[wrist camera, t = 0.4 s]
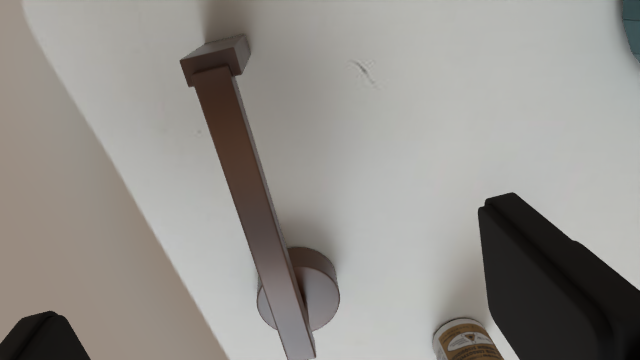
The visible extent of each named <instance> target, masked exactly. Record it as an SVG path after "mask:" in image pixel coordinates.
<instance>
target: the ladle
mask: <svg viewBox="0 0 640 360" xmlns="http://www.w3.org/2000/svg"><path fill="white" fill-rule="evenodd" d="M250 55H251V53H250V50H249V46H248V43H247V39H246V36H245V34H242V35H238V36H234V37H230V38H226V39H222V40H218V41H214V42H210V43H206V44H204V45H202V46H201V47H199V48H198V49H196V50H195V51H193V52H192V53H190V54H189V55H187V56H186V57H184V58H182V59H181V60H180V64H181V67H182V70H183V73H184V75H185V78H186V81H187V84H188V87H195V90H196V93H197V96H198V98H199V101H200V104H201V107H202V110H203V113H204V116H205V119H206V122H207V125H208V128H209V131H210V134H211V137H212V140H213V142H214V145H215V148H216V151H217V154H218V157H219V160H220V163H221V166H222V169H223V172H224V175H225V178H226V181H227V184H228V186H229V189H230V192H231V195H232V198H233V201H234V204H235V207H236V210H237V213H238V216H239V219H240V222H241V225H242V228H243V230H244V233H245V236H246V239H247V242H248V245H249V248H250V251H251V254H252V257H253V260H254V263H255V266H256V269H257V272H258V274H259V277H258V288H257V308H258V311H259V313H260V315H261V317H262V319H263V320H264V321H265V322H266V323H267V324H268V325H269V326H271V327H272V328H274V329H276V330H278V333H279V336H280V339H281V342H282V345H283V348H284V351H285V354H286V357H287V360H309V359H313V358H316V349H315V340H314V337H313V334H312V331H315V330H317V329H319V328H321V327H323V326H324V325H326V324H327V323H328V322H329V321H330V320H331V319H332V318H333V317H334V315H335V313H336V312H337V309H338V307H339V303H340V293H339V288H338V283H337V278H336V274H335V270H334V268H333V266H332V264H331V262H330V261H329V260H328V259H327V258H326V257H325V256H324V255H322V254H321V253H319V252H317V251H315V250H312V249H308V248H300V247H297V248H289V249H287V247H286V244H285V241H284V237H283V234H282V231H281V227H280V224H279V221H278V218H277V214H276V211H275V208H274V204H273V201H272V198H271V194H270V191H269V188H268V184H267V181H266V178H265V174H264V171H263V168H262V164H261V161H260V158H259V154H258V151H257V148H256V144H255V141H254V138H253V135H252V131H251V128H250V125H249V121H248V118H247V115H246V111H245V108H244V105H243V101H242V98H241V95H240V91H239V88H238V85H237V81H236V78H235V76H238V75H241V74H242V73H243V70H244V68H245V66H246V64H247V62H248V60H249V57H250Z"/></svg>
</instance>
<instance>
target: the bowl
mask: <svg viewBox="0 0 640 360" xmlns="http://www.w3.org/2000/svg"><path fill="white" fill-rule="evenodd" d="M622 19H623V24H624V27H625V31H626V34H627V38H628V42H629V45H630V49H631V52H632V54H633V55H634V56H635V58H636V59H637V60H638V61H639V63H640V0H623V11H622Z"/></svg>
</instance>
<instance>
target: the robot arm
mask: <svg viewBox="0 0 640 360" xmlns="http://www.w3.org/2000/svg"><path fill="white" fill-rule="evenodd" d="M478 219H479V228H480V237H481V246H482V254H483V263H484V272H485V281H486V290H487V298H488V306H489V310H490V313H491V316H492V318H493V320H494V322H495V323H496V325H497V326H498V328H499V329H500V331H501V332H502V334H503V335H504V337H505V338H506V340H507V341H508V343H509V344H510V346H511V347H512V349H513V350H514V352H515V353H516V355H517V356H518V358H519V359H520V360H640V291H639V290H638V289H637V288H636V287H634V286H633V285H632V284H631V283H629V282H628V281H627V280H626V279H624V278H623V277H622V276H621V275H619V274H618V273H617V272H616V271H614V270H613V269H612V268H611V267H610V266H608V265H607V264H606V263H605V262H603V261H602V260H601V259H600V258H598V257H597V256H596V255H595V254H593V253H592V252H591V251H590V250H589V249H587V248H586V247H585V246H584V245H582V244H581V243H579V242H577V241H573V240H571V239H570V238H569V237H568V236H567V235H565V234H564V233H563V232H562V231H560V230H559V229H558V228H557V227H556V226H554V225H553V224H552V223H551V222H549V221H548V220H547V219H546V218H545V217H543V216H542V215H541V214H540V213H539V212H537V211H536V210H535V209H534V208H532V207H531V206H530V205H529V204H528V203H526V202H525V201H524V200H523V199H521V198H520V197H519V196H518V195H517V194H515V193H513V192H512V193H507V194H503V195H499V196H495V197H492V198H488V199H486V200H485V206H483V207H479V209H478ZM0 360H91V359H90V358H89V356H88V354H87V353H86V351H85V349H84V347H83V346H82V345H81V342H80V341H79V339H78V337H77V336H76V334H75V332H74V331H73V329H72V327H71V325H70V324H69V322H68V320H67V319H66V318H65V317H64V316H62V315H58V314H57V313H55V312H53V311H47V312H43V313H39V314H35V315H31V316H28V317H24V318H22V319H21V320H20V321H18V323H17V324H16V325H15V326H14V328H13V329H12V330H11V331H10V332H9V334H8V335H7V336H6V337H5V339H4V340H3V341H2V342H1V344H0Z"/></svg>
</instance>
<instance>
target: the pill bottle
mask: <svg viewBox="0 0 640 360" xmlns="http://www.w3.org/2000/svg"><path fill="white" fill-rule="evenodd" d="M433 350H434V353H435V355H436V357H437V360H504V359H503V357H502V356H501V354H500V352H499V351H498V349H497V348H496V346H495V344H494V343H493V341H492V339H491V338H490V336H489V335H488V333H487V332H486V330H485V328H484V327H483V326H482V325H481V324H480V323H478V322H477V321H474V320H471V319H457V320H453V321H451V322H449V323H447V324H445V325H444V326H442V327H441V328H440V329H439V330H438V331H437V333H436V334H435V336H434V339H433Z"/></svg>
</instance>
